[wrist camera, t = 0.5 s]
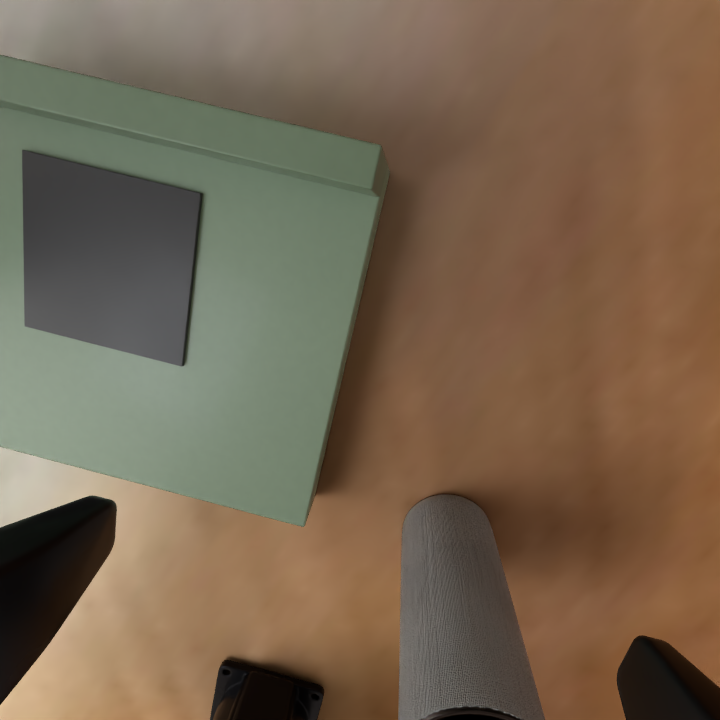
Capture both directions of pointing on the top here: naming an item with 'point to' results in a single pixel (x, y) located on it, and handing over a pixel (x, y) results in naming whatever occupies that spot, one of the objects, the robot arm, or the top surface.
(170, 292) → the green lipped platform
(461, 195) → the top surface
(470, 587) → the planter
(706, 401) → the top surface
